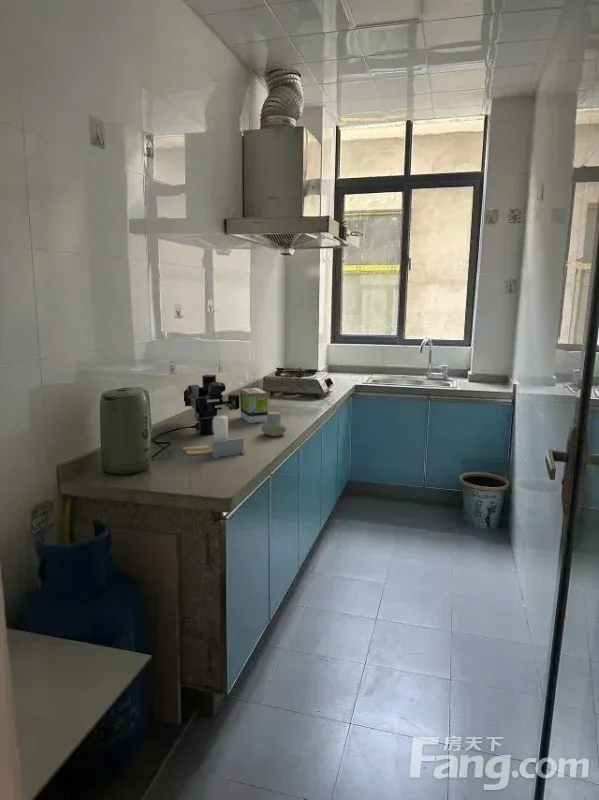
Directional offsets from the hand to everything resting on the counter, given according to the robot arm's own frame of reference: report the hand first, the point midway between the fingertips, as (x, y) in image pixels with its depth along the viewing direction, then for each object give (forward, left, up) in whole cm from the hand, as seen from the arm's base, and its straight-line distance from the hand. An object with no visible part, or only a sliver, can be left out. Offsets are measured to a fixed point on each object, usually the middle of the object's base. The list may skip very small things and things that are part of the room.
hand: (223, 407), depth 214 cm
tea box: (-40, +29, -17) cm, 53 cm away
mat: (0, -11, -17) cm, 20 cm away
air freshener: (-9, +26, -17) cm, 32 cm away
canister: (+5, -3, -17) cm, 17 cm away
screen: (+10, -2, -17) cm, 20 cm away
